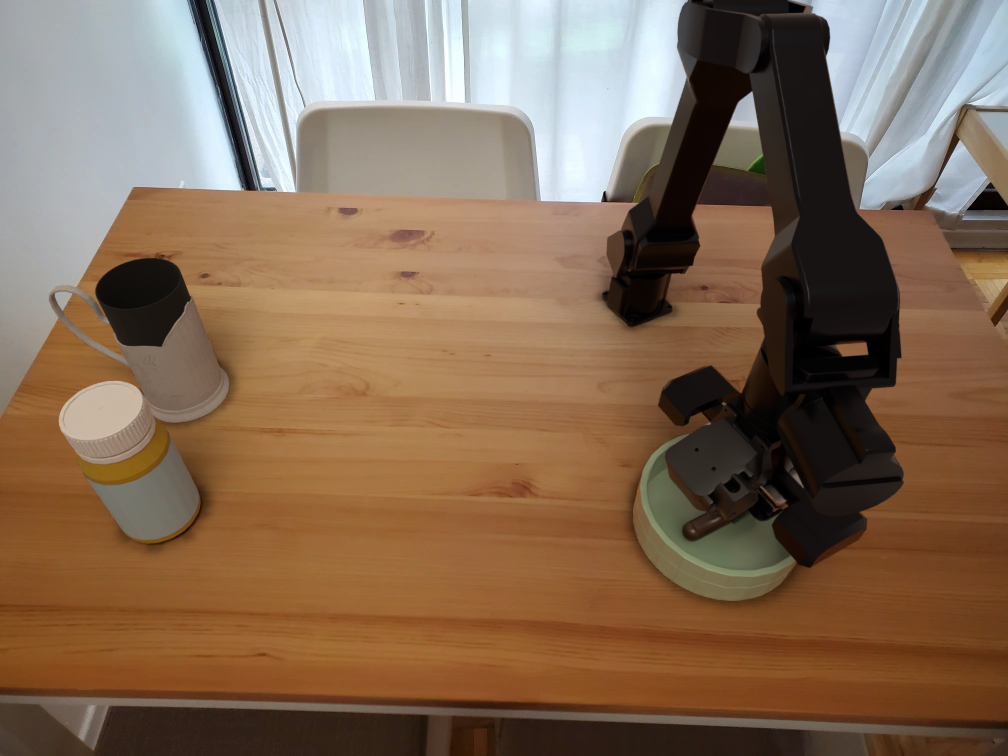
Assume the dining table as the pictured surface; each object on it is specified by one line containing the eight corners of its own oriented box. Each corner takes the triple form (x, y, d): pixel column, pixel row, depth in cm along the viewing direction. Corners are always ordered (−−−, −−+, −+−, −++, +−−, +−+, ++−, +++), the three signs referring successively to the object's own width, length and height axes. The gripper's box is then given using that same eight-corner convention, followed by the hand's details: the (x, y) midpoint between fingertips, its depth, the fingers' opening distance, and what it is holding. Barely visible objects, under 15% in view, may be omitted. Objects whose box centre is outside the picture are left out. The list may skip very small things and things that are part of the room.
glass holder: (212, 426, 74) (165, 318, 63) (78, 414, 75) (9, 306, 64) (240, 365, 80) (202, 256, 69) (116, 355, 81) (59, 246, 70)
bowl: (722, 438, 75) (734, 410, 71) (832, 555, 66) (850, 529, 63) (601, 496, 70) (607, 468, 66) (702, 631, 61) (715, 607, 57)
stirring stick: (758, 490, 68) (763, 479, 67) (771, 504, 67) (777, 494, 66) (675, 532, 65) (680, 522, 63) (688, 548, 64) (692, 538, 62)
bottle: (134, 484, 69) (69, 378, 58) (209, 480, 70) (158, 374, 59) (113, 549, 64) (38, 447, 53) (194, 544, 65) (136, 442, 54)
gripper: (621, 354, 57) (597, 470, 68) (790, 542, 46) (727, 642, 57) (731, 311, 60) (690, 428, 72) (911, 475, 49) (829, 581, 61)
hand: (728, 512), depth 65 cm, fingers closed on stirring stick, 2 cm apart
